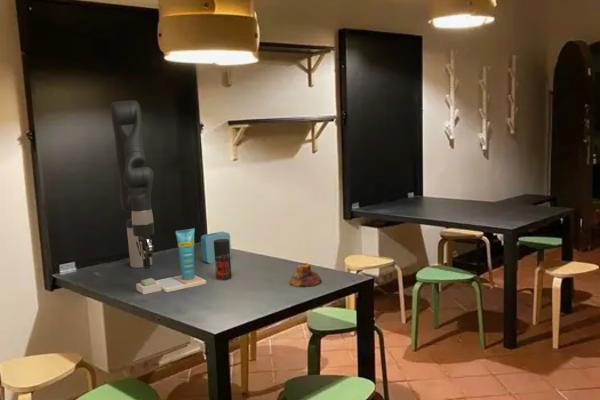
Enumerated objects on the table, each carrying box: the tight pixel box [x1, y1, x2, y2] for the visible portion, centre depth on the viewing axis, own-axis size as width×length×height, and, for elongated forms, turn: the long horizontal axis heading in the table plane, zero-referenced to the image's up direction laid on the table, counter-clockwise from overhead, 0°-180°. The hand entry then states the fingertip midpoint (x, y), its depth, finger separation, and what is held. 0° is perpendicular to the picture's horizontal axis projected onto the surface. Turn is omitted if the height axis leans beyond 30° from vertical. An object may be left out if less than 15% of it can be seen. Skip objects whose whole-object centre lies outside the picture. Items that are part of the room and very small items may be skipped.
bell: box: [288, 262, 322, 288], centre depth 234 cm, size 12×12×7 cm
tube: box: [175, 228, 196, 280], centre depth 242 cm, size 7×5×19 cm, turn 123°
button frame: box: [135, 280, 163, 295], centre depth 235 cm, size 7×7×2 cm
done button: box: [140, 277, 156, 286], centre depth 235 cm, size 4×4×2 cm
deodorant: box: [214, 239, 233, 281], centre depth 245 cm, size 6×6×15 cm
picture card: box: [156, 275, 207, 293], centre depth 242 cm, size 14×16×1 cm
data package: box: [200, 231, 232, 264], centre depth 275 cm, size 12×4×12 cm, turn 127°
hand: (147, 268), depth 234 cm, fingers closed
